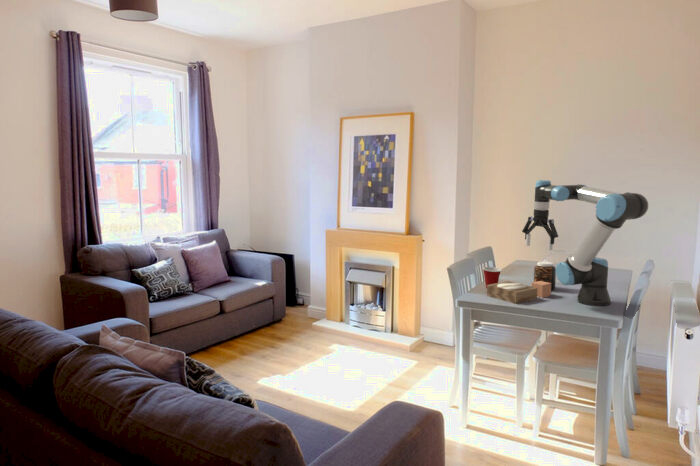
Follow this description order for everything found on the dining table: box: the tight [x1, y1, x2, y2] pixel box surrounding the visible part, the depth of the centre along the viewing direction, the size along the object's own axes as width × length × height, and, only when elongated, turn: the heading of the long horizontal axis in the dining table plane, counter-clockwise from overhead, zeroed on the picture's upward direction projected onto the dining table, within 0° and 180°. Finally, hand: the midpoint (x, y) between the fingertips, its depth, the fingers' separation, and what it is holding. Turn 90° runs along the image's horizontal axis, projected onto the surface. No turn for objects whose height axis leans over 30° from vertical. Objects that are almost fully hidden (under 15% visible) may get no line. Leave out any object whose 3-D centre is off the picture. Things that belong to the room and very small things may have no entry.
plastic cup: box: [482, 266, 503, 290], centre depth 282 cm, size 11×11×12 cm
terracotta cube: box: [531, 281, 552, 299], centre depth 265 cm, size 7×7×7 cm
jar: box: [533, 261, 557, 292], centre depth 279 cm, size 12×12×15 cm
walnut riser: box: [486, 280, 538, 305], centre depth 262 cm, size 20×16×6 cm
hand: (538, 247), depth 267 cm, fingers open, 13 cm apart
